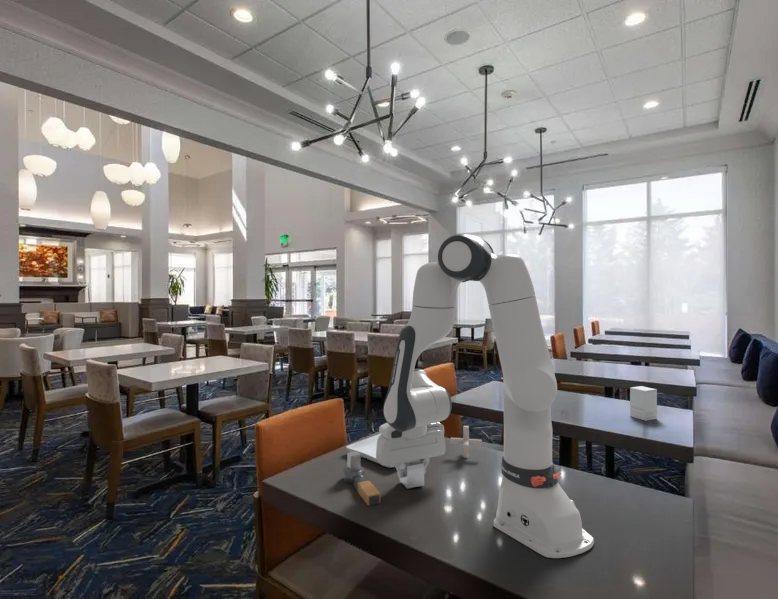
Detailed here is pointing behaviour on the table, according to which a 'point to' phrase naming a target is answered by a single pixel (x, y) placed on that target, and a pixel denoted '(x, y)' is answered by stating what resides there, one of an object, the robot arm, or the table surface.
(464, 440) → the pipe connector
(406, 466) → the white speckled cube
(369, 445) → the salad plate
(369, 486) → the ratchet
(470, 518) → the table surface
